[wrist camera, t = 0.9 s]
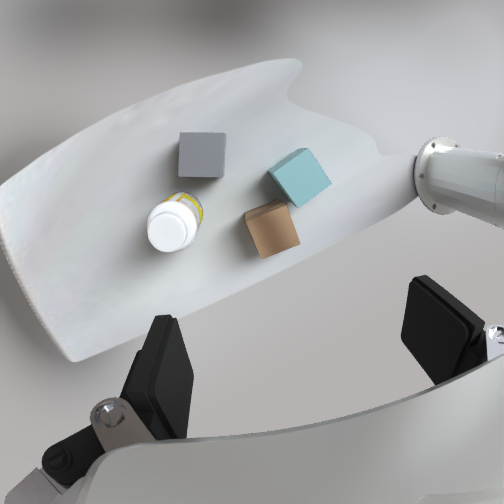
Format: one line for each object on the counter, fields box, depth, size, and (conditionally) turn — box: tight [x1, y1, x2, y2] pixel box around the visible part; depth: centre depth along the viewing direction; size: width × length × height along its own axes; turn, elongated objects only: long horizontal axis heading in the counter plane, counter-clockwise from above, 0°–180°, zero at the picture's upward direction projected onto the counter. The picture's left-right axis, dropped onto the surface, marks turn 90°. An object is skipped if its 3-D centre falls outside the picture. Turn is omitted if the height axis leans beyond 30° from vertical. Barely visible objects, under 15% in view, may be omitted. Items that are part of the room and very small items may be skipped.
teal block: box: [268, 148, 332, 208], centre depth 34 cm, size 5×5×5 cm
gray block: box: [178, 133, 226, 177], centre depth 32 cm, size 5×5×5 cm
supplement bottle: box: [147, 192, 203, 252], centre depth 32 cm, size 6×6×10 cm
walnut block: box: [244, 199, 300, 259], centre depth 36 cm, size 5×5×5 cm
